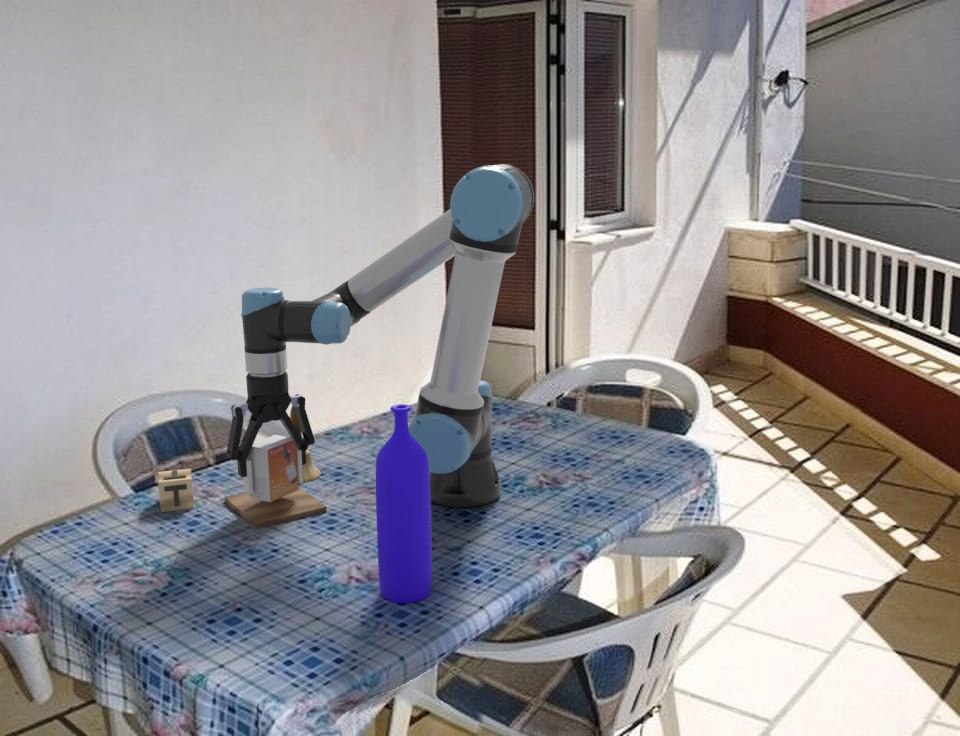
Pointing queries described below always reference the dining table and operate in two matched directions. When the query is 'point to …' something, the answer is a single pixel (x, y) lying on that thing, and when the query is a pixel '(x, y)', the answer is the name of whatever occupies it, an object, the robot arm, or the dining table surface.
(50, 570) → the dining table surface
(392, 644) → the dining table surface
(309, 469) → the hand bell
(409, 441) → the bottle
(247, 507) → the walnut board
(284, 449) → the small box
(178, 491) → the letter cube
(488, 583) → the dining table surface
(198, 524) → the dining table surface
